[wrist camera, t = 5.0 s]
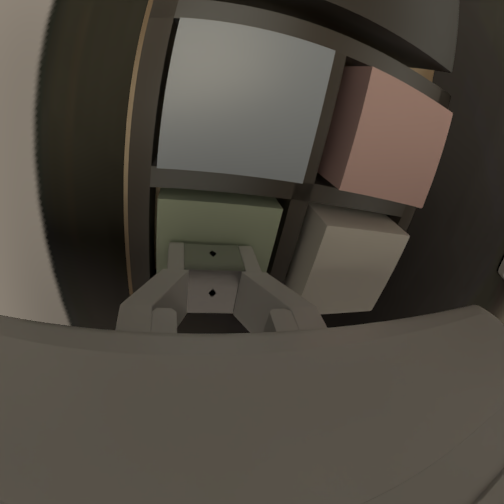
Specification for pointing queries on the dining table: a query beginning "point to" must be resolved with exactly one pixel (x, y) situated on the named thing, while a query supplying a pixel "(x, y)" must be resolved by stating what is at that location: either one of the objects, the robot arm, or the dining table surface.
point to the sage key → (216, 221)
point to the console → (346, 54)
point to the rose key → (383, 138)
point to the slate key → (242, 101)
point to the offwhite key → (344, 257)
